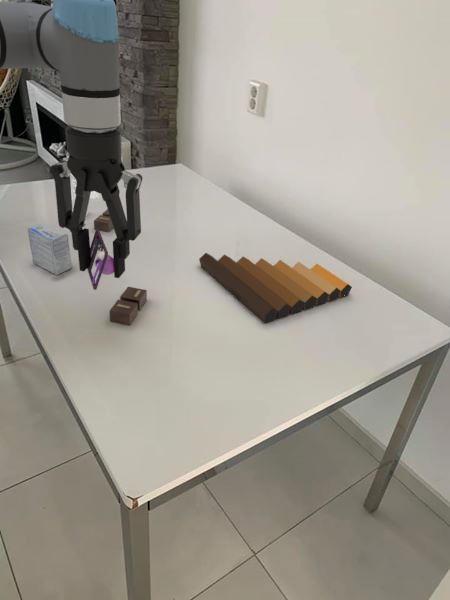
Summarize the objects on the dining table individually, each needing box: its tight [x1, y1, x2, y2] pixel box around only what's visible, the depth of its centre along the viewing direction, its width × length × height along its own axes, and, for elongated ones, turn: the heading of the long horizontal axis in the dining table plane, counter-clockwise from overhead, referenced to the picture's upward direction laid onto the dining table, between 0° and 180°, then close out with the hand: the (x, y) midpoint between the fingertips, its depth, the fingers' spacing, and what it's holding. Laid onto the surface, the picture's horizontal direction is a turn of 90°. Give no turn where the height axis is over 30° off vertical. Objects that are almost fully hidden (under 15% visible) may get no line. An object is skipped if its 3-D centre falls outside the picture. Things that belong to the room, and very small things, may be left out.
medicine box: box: [27, 222, 73, 276], centre depth 98 cm, size 8×4×9 cm, turn 56°
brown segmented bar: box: [109, 286, 148, 326], centre depth 88 cm, size 4×9×3 cm, turn 168°
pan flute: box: [198, 252, 353, 324], centre depth 103 cm, size 25×3×25 cm
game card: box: [86, 229, 114, 291], centre depth 74 cm, size 7×5×9 cm
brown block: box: [93, 208, 114, 233], centre depth 120 cm, size 4×9×3 cm, turn 168°
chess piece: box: [72, 178, 89, 217], centre depth 121 cm, size 5×5×10 cm
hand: (102, 270), depth 75 cm, fingers closed on game card, 5 cm apart
